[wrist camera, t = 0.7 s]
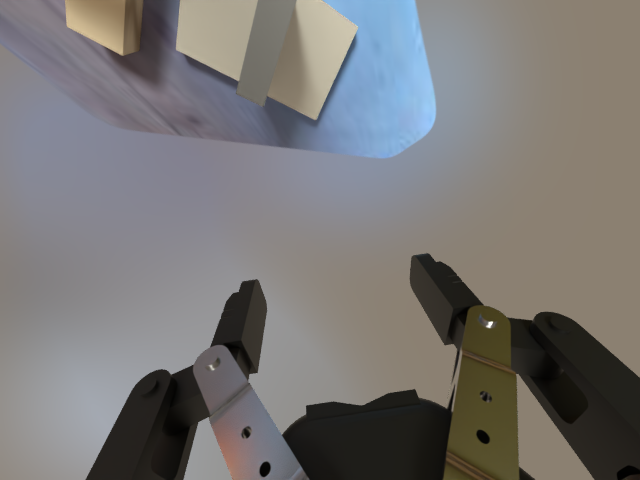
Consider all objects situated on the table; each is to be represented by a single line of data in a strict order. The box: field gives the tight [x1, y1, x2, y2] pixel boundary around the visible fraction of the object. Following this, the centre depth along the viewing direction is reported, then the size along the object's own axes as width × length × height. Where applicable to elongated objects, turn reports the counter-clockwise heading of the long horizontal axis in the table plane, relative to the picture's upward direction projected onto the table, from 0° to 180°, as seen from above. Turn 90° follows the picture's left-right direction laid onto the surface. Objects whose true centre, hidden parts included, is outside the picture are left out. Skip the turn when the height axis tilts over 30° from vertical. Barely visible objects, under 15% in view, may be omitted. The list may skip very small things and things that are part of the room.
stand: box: [176, 0, 358, 120], centre depth 22 cm, size 16×10×10 cm, turn 63°
